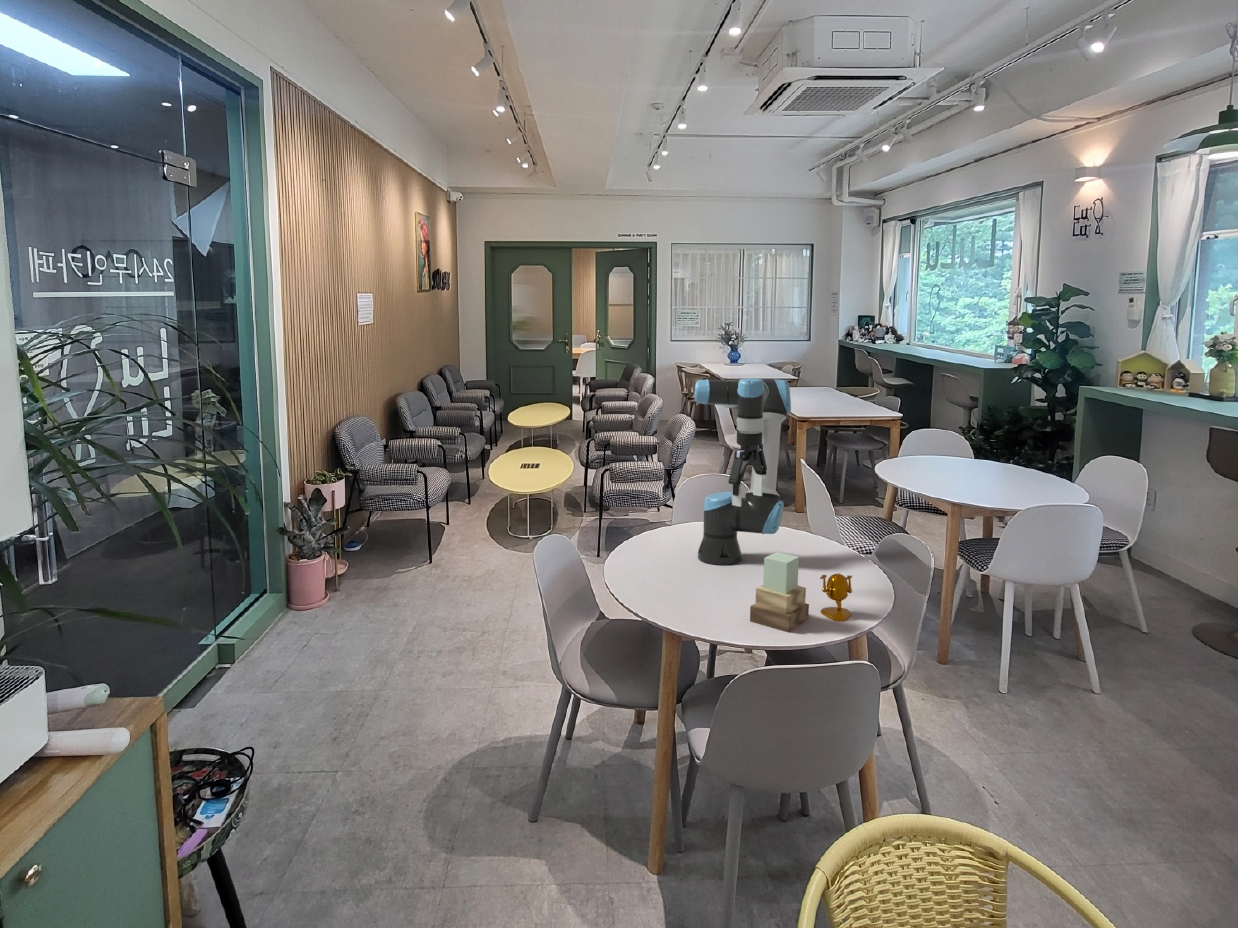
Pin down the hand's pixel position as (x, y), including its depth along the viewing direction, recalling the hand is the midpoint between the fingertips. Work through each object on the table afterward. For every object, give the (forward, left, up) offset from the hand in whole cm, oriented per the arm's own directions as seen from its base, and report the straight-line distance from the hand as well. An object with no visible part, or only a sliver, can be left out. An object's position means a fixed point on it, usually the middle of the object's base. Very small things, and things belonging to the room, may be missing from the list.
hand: (747, 500), depth 245 cm
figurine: (-2, +29, -30) cm, 42 cm away
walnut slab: (+12, +18, -30) cm, 37 cm away
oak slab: (+12, +18, -25) cm, 33 cm away
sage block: (+12, +18, -20) cm, 30 cm away
